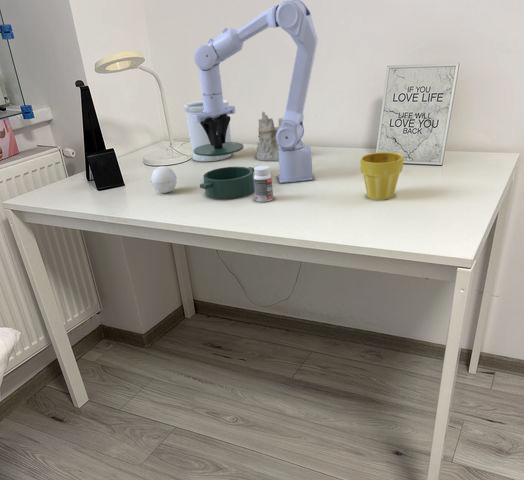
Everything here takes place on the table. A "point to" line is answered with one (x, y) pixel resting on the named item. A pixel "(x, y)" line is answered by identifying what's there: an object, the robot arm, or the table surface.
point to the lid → (218, 148)
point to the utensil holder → (201, 131)
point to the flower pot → (381, 173)
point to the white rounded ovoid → (163, 179)
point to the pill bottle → (263, 184)
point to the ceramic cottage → (267, 139)
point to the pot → (228, 183)
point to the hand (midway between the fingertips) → (218, 144)
